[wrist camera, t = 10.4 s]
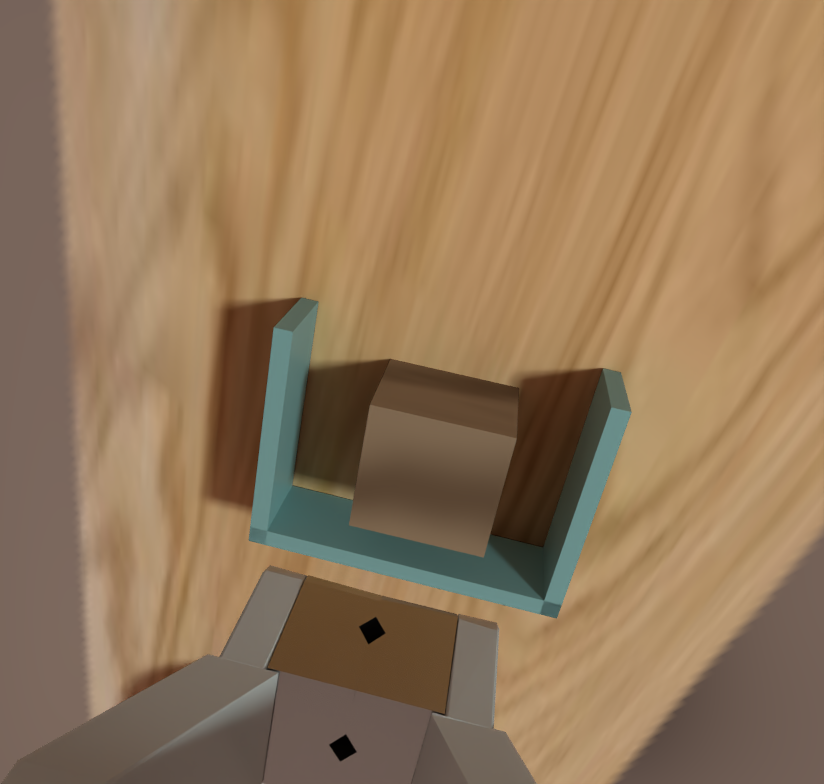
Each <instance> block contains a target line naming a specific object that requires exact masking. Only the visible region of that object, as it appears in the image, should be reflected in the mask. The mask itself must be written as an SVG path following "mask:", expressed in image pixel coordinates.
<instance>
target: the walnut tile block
mask: <svg viewBox="0 0 824 784" xmlns="http://www.w3.org/2000/svg"><path fill="white" fill-rule="evenodd" d="M518 396H519V388H516V387H512V386H508V385H503V384H499V383H494V382H490V381H486V380H481V379H477V378H472V377H468V376H464V375H459V374H455V373H450V372H446V371H442V370H437V369H433V368H428V367H424V366H420V365H415V364H411V363H406V362H402V361H398V360H393V359H390V361H389V364H388V366H387V368H386V370H385V372H384V375H383V377H382V379H381V381H380V384H379V386H378V388H377V390H376V392H375V395H374V397H373V399H372V401H371V403H370V407H369V413H368V419H367V424H366V430H365V436H364V441H363V447H362V453H361V459H360V464H359V470H358V476H357V481H356V487H355V493H354V499H353V504H352V510H351V516H350V521H349V525H350V526H354V527H358V528H362V529H366V530H371V531H375V532H379V533H383V534H387V535H392V536H396V537H400V538H404V539H408V540H412V541H417V542H421V543H425V544H429V545H433V546H438V547H442V548H446V549H450V550H454V551H458V552H463V553H467V554H471V555H475V556H479V557H484V555H485V551H486V547H487V544H488V540H489V537H490V533H491V530H492V526H493V522H494V519H495V515H496V512H497V508H498V504H499V501H500V497H501V494H502V490H503V487H504V483H505V479H506V476H507V472H508V469H509V465H510V461H511V458H512V454H513V451H514V447H515V443H516V440H517V423H518Z"/></svg>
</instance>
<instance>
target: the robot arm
mask: <svg viewBox="0 0 824 784" xmlns="http://www.w3.org/2000/svg"><path fill="white" fill-rule="evenodd" d="M498 641H499V627H498V625H497V623H496V622H491V621H487V620H483V619H478V618H474V617H470V616H466V615H461V614H458V616H457V614H454V613H450V612H446V611H442V610H438V609H434V608H430V607H426V606H422V605H418V604H414V603H410V602H405V601H401V600H397V599H393V598H389V597H385V596H381V595H377V594H374V593H370V592H367V591H363V590H359V589H356V588H352V587H349V586H345V585H342V584H338V583H334V582H331V581H327V580H324V579H320V578H316V577H313V576H309V575H308V576H306V575H303V574H299V573H296V572H292V571H289V570H285V569H281V568H278V567H274V566H271V565H270V566H269V567H268V568H267V569H266V570H265V571H264V572H263V573H262V575H261V577H260V579H259V581H258V583H257V585H256V587H255V589H254V591H253V593H252V595H251V597H250V599H249V600H248V602H247V604H246V606H245V608H244V610H243V612H242V614H241V616H240V618H239V620H238V622H237V624H236V626H235V628H234V630H233V632H232V633H231V635H230V637H229V639H228V641H227V643H226V645H225V647H224V649H223V651H222V653H221V655H220V657H217V656H212V655H208V654H207V655H205V656H204V657H202V658H200V659H198V660H196V661H195V662H193V663H191V664H189V665H187V666H186V667H184V668H182V669H180V670H179V671H177V672H175V673H173V674H171V675H170V676H168V677H166V678H164V679H162V680H161V681H159V682H157V683H155V684H153V685H152V686H150V687H148V688H146V689H145V690H143V691H141V692H139V693H137V694H136V695H134V696H132V697H130V698H128V699H127V700H125V701H123V702H121V703H119V704H118V705H116V706H114V707H112V708H111V709H109V710H107V711H105V712H103V713H102V714H100V715H98V716H96V717H94V718H93V719H91V720H89V721H87V722H86V723H84V724H82V725H80V726H79V727H77V728H75V729H73V730H71V731H70V732H68V733H66V734H64V735H63V736H61V737H59V738H57V739H55V740H53V741H52V742H50V743H48V744H46V745H44V746H43V747H41V748H39V749H37V750H35V751H34V752H32V753H30V754H28V755H27V756H25V757H23V758H21V759H20V760H18V761H17V762H16V764H15V765H14V767H13V768H12V769H11V771H10V772H9V773H8V775H7V776H6V777H5V779H4V780H3V781H2V783H1V784H536V782H535V780H534V779H533V777H532V775H531V774H530V772H529V770H528V769H527V767H526V765H525V764H524V762H523V760H522V759H521V757H520V755H519V754H518V752H517V750H516V749H515V747H514V745H513V744H512V742H511V740H510V739H509V737H508V735H507V734H506V732H503V731H500V730H496V729H493V728H494V711H495V693H496V676H497V659H498Z"/></svg>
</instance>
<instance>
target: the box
mask: <svg viewBox="0 0 824 784" xmlns="http://www.w3.org/2000/svg"><path fill="white" fill-rule="evenodd" d="M317 309H318V301H314V300H309V299H305V298H301V299H300V300H299V301H298V302H297V303H296V304H295V305H294V306H293V307H292V308H291V309H290V310H289V312H288V313H287V314H286V315H285V316H284V317H283V318H282V319H281V320H280V321H279V322H278V323H277V324H276V326H275V327H274V329H273V338H272V346H271V355H270V363H269V372H268V381H267V389H266V398H265V406H264V415H263V423H262V432H261V440H260V449H259V457H258V466H257V474H256V483H255V491H254V500H253V508H252V517H251V526H250V534H249V541H252V542H256V543H260V544H264V545H268V546H272V547H276V548H280V549H284V550H288V551H291V552H295V553H299V554H303V555H307V556H311V557H315V558H319V559H323V560H327V561H331V562H335V563H339V564H343V565H347V566H351V567H355V568H359V569H363V570H367V571H371V572H375V573H379V574H383V575H387V576H391V577H395V578H399V579H402V580H406V581H410V582H414V583H418V584H422V585H426V586H430V587H434V588H438V589H442V590H446V591H450V592H454V593H458V594H462V595H466V596H470V597H474V598H478V599H482V600H486V601H490V602H494V603H498V604H502V605H506V606H509V607H513V608H517V609H521V610H525V611H529V612H533V613H537V614H541V615H545V616H549V617H553V618H557V616H558V614H559V611H560V608H561V605H562V603H563V600H564V597H565V594H566V592H567V589H568V586H569V583H570V581H571V578H572V575H573V572H574V570H575V567H576V564H577V561H578V559H579V556H580V553H581V550H582V548H583V545H584V542H585V539H586V536H587V534H588V531H589V528H590V525H591V523H592V520H593V517H594V514H595V512H596V509H597V506H598V503H599V501H600V498H601V495H602V492H603V490H604V487H605V484H606V481H607V479H608V476H609V473H610V470H611V468H612V465H613V462H614V459H615V457H616V454H617V451H618V448H619V445H620V443H621V440H622V437H623V434H624V432H625V429H626V426H627V423H628V421H629V418H630V415H631V408H630V404H629V401H628V397H627V393H626V390H625V386H624V382H623V379H622V375H621V372H617V371H612V370H608V369H604V368H603V370H602V373H601V376H600V379H599V382H598V385H597V388H596V391H595V394H594V397H593V400H592V403H591V406H590V409H589V412H588V415H587V418H586V421H585V424H584V427H583V430H582V433H581V436H580V439H579V442H578V445H577V448H576V451H575V454H574V457H573V460H572V463H571V466H570V469H569V472H568V475H567V478H566V481H565V484H564V487H563V490H562V493H561V496H560V499H559V502H558V505H557V508H556V511H555V514H554V517H553V520H552V523H551V526H550V529H549V532H548V535H547V538H546V541H545V544H544V547H539V546H535V545H531V544H527V543H523V542H519V541H514V540H510V539H506V538H502V537H498V536H494V535H490V537H489V540H488V544H487V547H486V551H485V555H484V557H479V556H475V555H471V554H467V553H463V552H458V551H454V550H450V549H446V548H442V547H438V546H433V545H429V544H425V543H421V542H417V541H412V540H408V539H404V538H400V537H396V536H392V535H387V534H383V533H379V532H375V531H371V530H366V529H362V528H358V527H354V526H350V525H349V521H350V516H351V510H352V504H353V500H349V499H345V498H341V497H337V496H333V495H329V494H325V493H321V492H317V491H313V490H309V489H304V488H300V487H296V486H292V484H293V477H294V470H295V463H296V456H297V449H298V442H299V435H300V428H301V421H302V414H303V407H304V400H305V393H306V386H307V379H308V372H309V365H310V358H311V351H312V344H313V337H314V330H315V323H316V316H317Z"/></svg>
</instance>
